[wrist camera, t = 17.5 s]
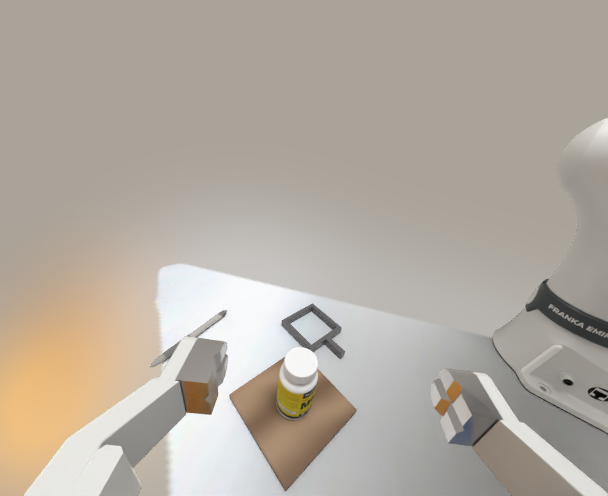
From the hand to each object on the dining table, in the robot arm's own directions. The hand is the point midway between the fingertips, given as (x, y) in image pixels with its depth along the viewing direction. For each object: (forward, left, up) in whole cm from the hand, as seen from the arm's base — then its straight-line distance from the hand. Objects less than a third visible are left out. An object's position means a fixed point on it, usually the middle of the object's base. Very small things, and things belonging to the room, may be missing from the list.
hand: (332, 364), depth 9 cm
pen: (+27, -3, -26) cm, 38 cm away
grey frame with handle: (+15, -20, -26) cm, 36 cm away
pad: (+9, -9, -26) cm, 29 cm away
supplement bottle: (+9, -9, -26) cm, 28 cm away
